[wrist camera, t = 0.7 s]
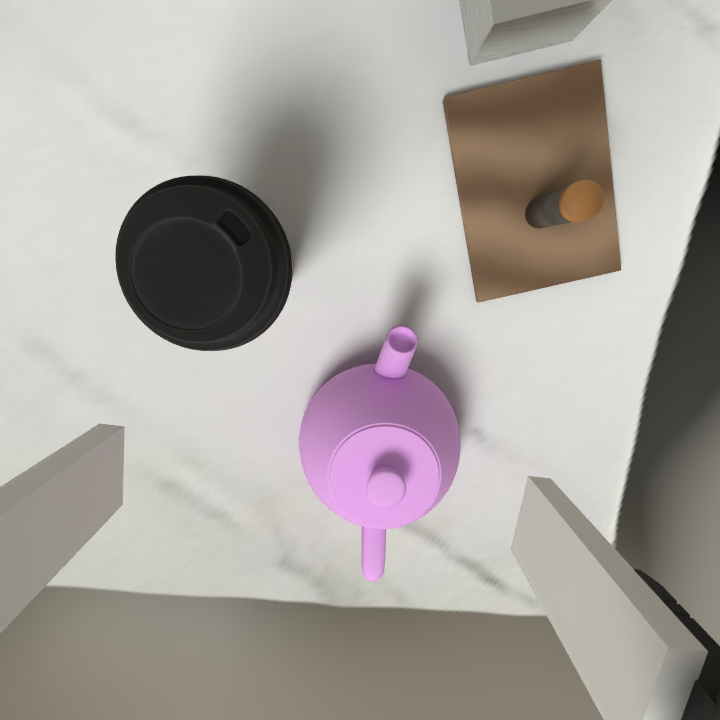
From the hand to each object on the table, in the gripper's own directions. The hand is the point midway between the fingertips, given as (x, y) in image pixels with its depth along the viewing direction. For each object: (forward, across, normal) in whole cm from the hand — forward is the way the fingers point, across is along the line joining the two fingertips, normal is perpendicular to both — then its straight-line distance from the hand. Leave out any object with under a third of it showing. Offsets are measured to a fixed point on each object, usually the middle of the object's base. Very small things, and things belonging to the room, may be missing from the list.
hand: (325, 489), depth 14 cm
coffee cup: (+25, -8, +6) cm, 27 cm away
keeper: (+25, +14, +15) cm, 32 cm away
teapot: (+25, +4, -7) cm, 26 cm away
